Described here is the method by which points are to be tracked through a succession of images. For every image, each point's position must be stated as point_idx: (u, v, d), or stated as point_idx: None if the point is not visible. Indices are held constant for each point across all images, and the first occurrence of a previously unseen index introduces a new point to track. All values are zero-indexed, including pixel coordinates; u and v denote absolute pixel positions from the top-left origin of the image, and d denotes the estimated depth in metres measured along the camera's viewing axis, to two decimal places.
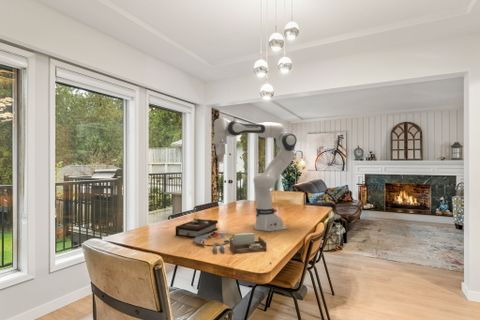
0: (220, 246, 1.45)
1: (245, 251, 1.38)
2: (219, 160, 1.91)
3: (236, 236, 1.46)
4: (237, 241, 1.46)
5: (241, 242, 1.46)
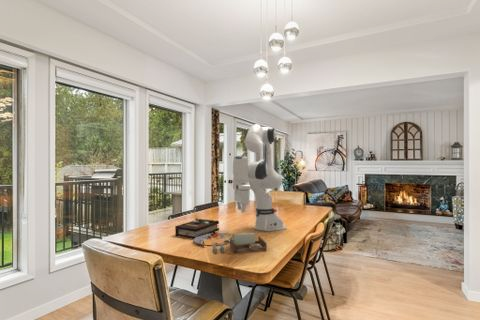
0: (220, 246, 1.45)
1: (245, 251, 1.38)
2: None
3: (236, 236, 1.46)
4: (237, 241, 1.46)
5: (241, 242, 1.46)
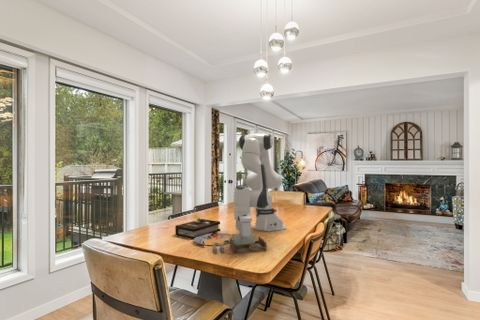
0: (220, 246, 1.45)
1: (245, 251, 1.38)
2: None
3: (236, 236, 1.46)
4: (237, 241, 1.46)
5: (241, 242, 1.46)
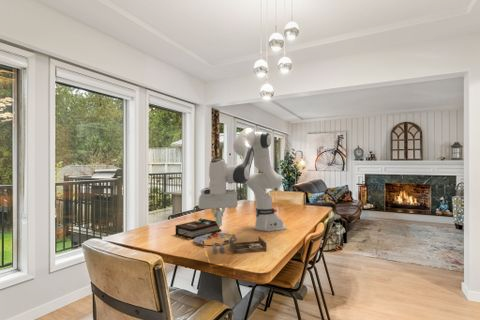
0: (220, 246, 1.45)
1: (245, 251, 1.38)
2: (216, 215, 1.41)
3: (215, 209, 1.45)
4: None
5: (216, 217, 1.42)
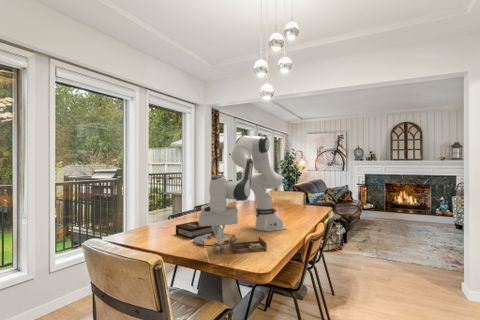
0: (220, 246, 1.45)
1: (245, 251, 1.38)
2: (216, 232, 1.41)
3: None
4: None
5: (216, 234, 1.42)
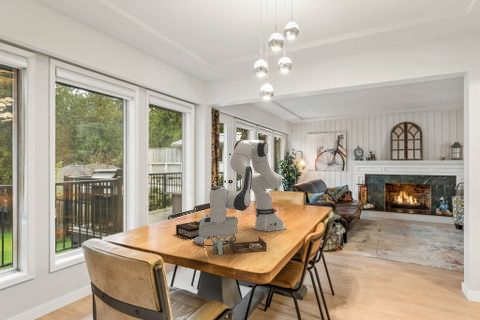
0: None
1: (245, 251, 1.38)
2: None
3: (216, 238, 1.45)
4: (216, 243, 1.44)
5: (216, 246, 1.42)
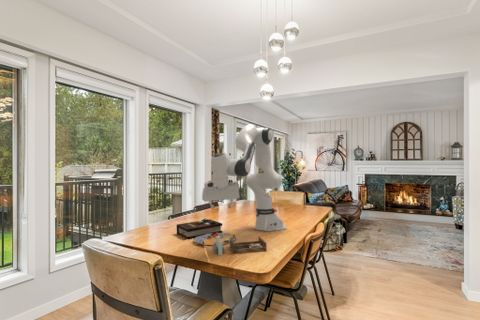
0: None
1: (245, 251, 1.38)
2: (213, 207, 1.49)
3: (216, 238, 1.45)
4: (216, 243, 1.44)
5: (216, 246, 1.42)
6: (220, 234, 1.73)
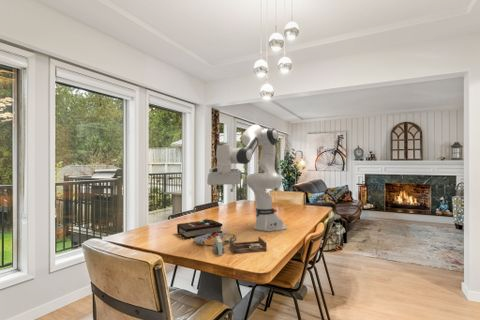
0: None
1: (245, 251, 1.38)
2: (217, 190, 1.65)
3: (216, 238, 1.45)
4: (216, 243, 1.44)
5: (216, 246, 1.42)
6: (220, 234, 1.73)
